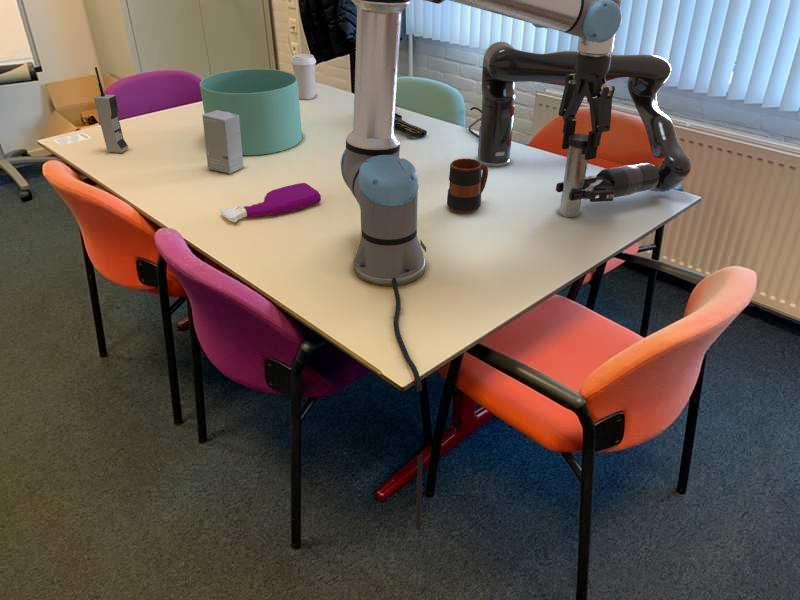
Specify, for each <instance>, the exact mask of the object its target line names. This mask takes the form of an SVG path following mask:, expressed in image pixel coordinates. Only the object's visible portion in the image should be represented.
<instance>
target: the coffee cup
mask: <svg viewBox="0 0 800 600" xmlns="http://www.w3.org/2000/svg"><path fill="white" fill-rule="evenodd" d="M316 63H317V60H316V58H315V56H314V54H311V53H310V54H309V53H299V54H295V55H293V56H292V57H291V60H290V64H291V66H292V71H293V75H295V76H296V77H297V81H298V92H299V100H311V99H314V98H315V97H316Z"/></svg>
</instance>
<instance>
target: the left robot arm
mask: <svg viewBox="0 0 800 600" xmlns="http://www.w3.org/2000/svg"><path fill="white" fill-rule="evenodd" d="M350 1H351V2H352V3H353V4H354V6H355V7H356V34H355V35H356V36H355V64H354V65H355V67H354V68H355V69H354V100H353V128H352V131H351V132H349V133H348V134H347V135H346V137H345V149H344V151H343V153H342V155H341V158H340V172H341V176H342V179H343V181H344V183H345V185H346V186H347V188H348V189H349V191H350V192H351V194H352V195H353V197H354V198H355V200H356V202H357V204H358V205H359V210H360V211H359V212H360V239H359V242H358V247H357V249H356V252H355V256H354V259H353V270H354V273H355V275H356V276H357V277H358V278H359V279H360V280H362V281H364V282H366V283H369V284H370V285H371V284H372V285H376V286H382V287H392V289H393V294H394V297H395V311H394V316H393V330H394V335H395V339H396V342H397V343H398V346H399V348H400V351H401V353H402V356H403V358H404V360H405V362H406V363H407V365H408V366H409V368H410V370H411V373H412V376H413V378H414V383H415V389H416V391H417V392H422V391H423V384H422V380H421V376H420V373H419V370H418V368H417V366H416V364H415V363H414V362H413V360H412V358H411V356H410V354H409V351H408V349H407V347H406V345H405V343H404V342H405V341H404V340H403V338H402V334H401V330H400V325H399V318H400V313H401V305H402V304H401V303H402V302H401V301H402V300H401V295H400V292H399V286H402V285H406V284H410V283H413V282H415V281H417V280H418V279H420V278H421V276H423V274H424V273H425V270H426V258H425V255H424V252H425V253H427V246H426V245H425V243H424V242H423V240H422V239H419V238H418V198H419V197H418V196H419V194H418V193H419V192H418V191H419V187H420V186H419V185H420V184H419V179H418V172H417V169H416V167H415V165H414V164H413V163H412V162H411V161H409V160H408V159H406V158H404V157H402V158H401V157H400V150H401V140H400V139H401V138H399V137H398V136H397V134H395V128H394V120H395V106H397V105H396V104H397V88H398V72H399V58H400V57H399V56H400V41H401V27H402V14H403V13H402V12H403V11H404V9H405V8H406V7H408V6H409V5H410V4H411V0H350ZM424 1H425V2H430V3H433V4H436V5H440V4H442V3H443V2H445V1H446V0H424ZM449 1H450V2H453V3H457V4H461V5H463V6H464V5H465V6H467V7H472V8H476V9H477V10H478V9H479V10H483V11H486V12H489V13H493V14H497V15H501V16H503V17H508V18H511V19H514V20H519V21H523V22H526V23H530V24H532V26H533V27H534V28H537V29H547V30H548V29H550V30H554V31H558V32H562V33H564V34H567V35H571V36H575V37H578V41H577V47H576V51H579V52H578V53H577V54H576V59H575V66H574V69H575V71H576V73H574V74H568V75H566V76H565V86H564V88H563V93H562V97H561V100H560V106H559V109H558V116H559V117H561V118H562V120H563V126H562V127H563V128H562V134H563V136H562V144H561V149H562V150H568V148H569V144H568V140H569V136H570V135H572V134H576V133H575V132H576V126H577V117H576V115H577V114H578V111H579V109H580V107H581V105H582V103H583V100H584V98H586V101H587V103H588V105H589V106H588V107H589V115H590V126H591V130H590V131H588V134H587V135H588V141H587V147H586V153H585V160H588V161H590V160H594V159H596V158H597V152H598V148H599V147H600V145H601V140H602V134H603V133H606V132H610V131H611V122H612V110H613V109H612V108H613V96H614V93H615V91H616V87H615V86H614V85H609V84H607V82H606V81H605V75H606V74H607V72H608V71H609V67H610V62H611V55H612V53H613V50H614V45H615V44H614V43H615V38H616V37H615V36H616V34H617V32H618V31H619V30H620V27H621V24H622V21H623V19H622V16H623V15H622V10H621V4H622V1H623V0H449ZM423 251H424V252H423ZM423 455H424V454H419V455H417V456H416V457H417V458H416V462H417V463H416V495H415V496H416V497H415V498H416V500H415V504H416V505H415V529H416V530H417V531H420V530H421V529H422V495H423V494H422V493H423V467H424V465H423V464H424V462H423V461H424V459H423V458H424V456H423Z"/></svg>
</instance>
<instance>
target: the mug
mask: <svg viewBox="0 0 800 600" xmlns="http://www.w3.org/2000/svg"><path fill="white" fill-rule="evenodd" d="M488 167H489V166H487V165H485V164H481V163H480V162H479V161H478V159H474V158H459V159H458V158H457V159H455V160H452V161H451V163H450V164H449V175H448V181H449V184H448V190H447V197H446V205H447V207H448V209H449V210H450V211H452V212H454V213H456V214H465V215H466V214H473V213H476V212H477V211H478V210H479V209H480V208H481V205H482V193H483V192H484V190H485V188H486V185H487V181H488V177H489V168H488Z"/></svg>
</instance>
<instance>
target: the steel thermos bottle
mask: <svg viewBox="0 0 800 600" xmlns="http://www.w3.org/2000/svg"><path fill="white" fill-rule="evenodd" d="M585 153H586V148H578V147H573V146H571V145H569V148H568V149H567V156H566V163H565V168H564V169H565V170H564V176H563V181H562V182H563V189H562V192H561V197H560V203H559V210H558V213H559V215H560V216H563V217H565V218H576V217H579V215H580V210H581V204H582V199H578V200H573V201H571V200H569V193H570V192H571V191H576V190H581V189H583V187H584V181H585V176H586V174H587V168H588V163H589V160H585Z"/></svg>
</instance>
